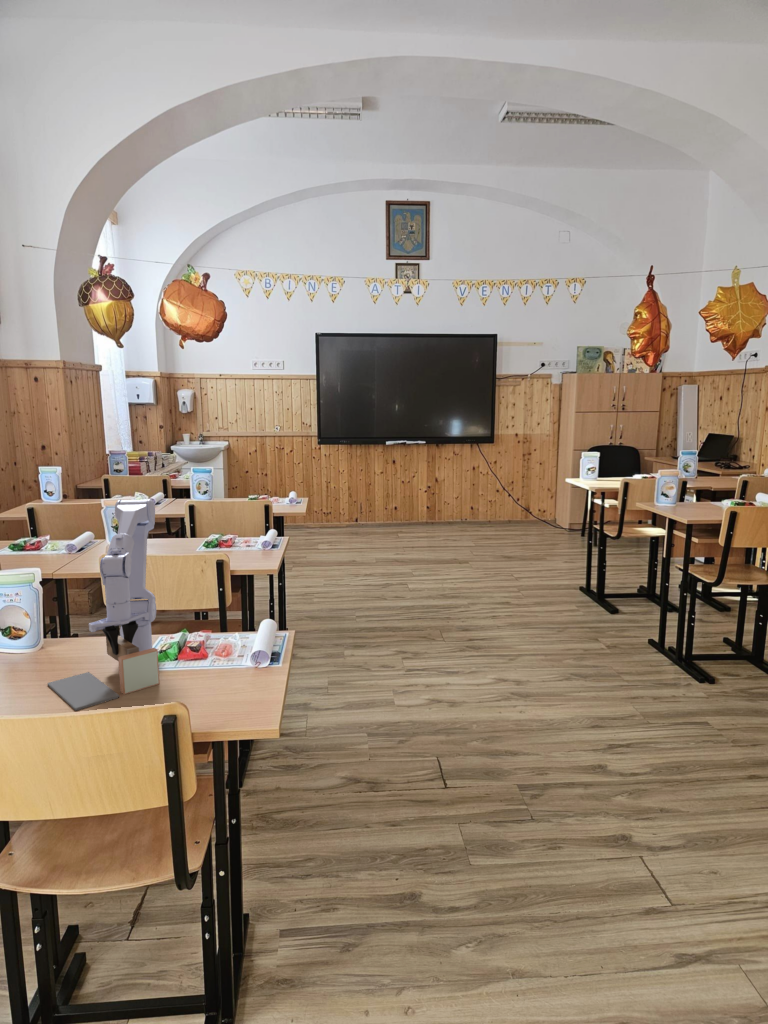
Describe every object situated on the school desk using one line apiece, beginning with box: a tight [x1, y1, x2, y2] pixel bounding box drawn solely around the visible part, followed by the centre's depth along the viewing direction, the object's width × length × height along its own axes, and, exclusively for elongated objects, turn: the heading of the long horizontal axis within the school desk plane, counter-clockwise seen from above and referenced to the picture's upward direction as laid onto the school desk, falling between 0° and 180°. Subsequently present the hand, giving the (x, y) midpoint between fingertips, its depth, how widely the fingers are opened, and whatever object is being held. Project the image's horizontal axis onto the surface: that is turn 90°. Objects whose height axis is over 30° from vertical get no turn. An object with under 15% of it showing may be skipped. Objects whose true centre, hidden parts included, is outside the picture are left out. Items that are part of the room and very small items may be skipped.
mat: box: [47, 671, 120, 711], centre depth 158 cm, size 20×10×1 cm, turn 44°
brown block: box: [105, 634, 139, 662], centre depth 166 cm, size 15×3×5 cm, turn 44°
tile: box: [117, 647, 161, 695], centre depth 159 cm, size 2×9×9 cm, turn 134°
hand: (121, 652), depth 166 cm, fingers closed on brown block, 2 cm apart
